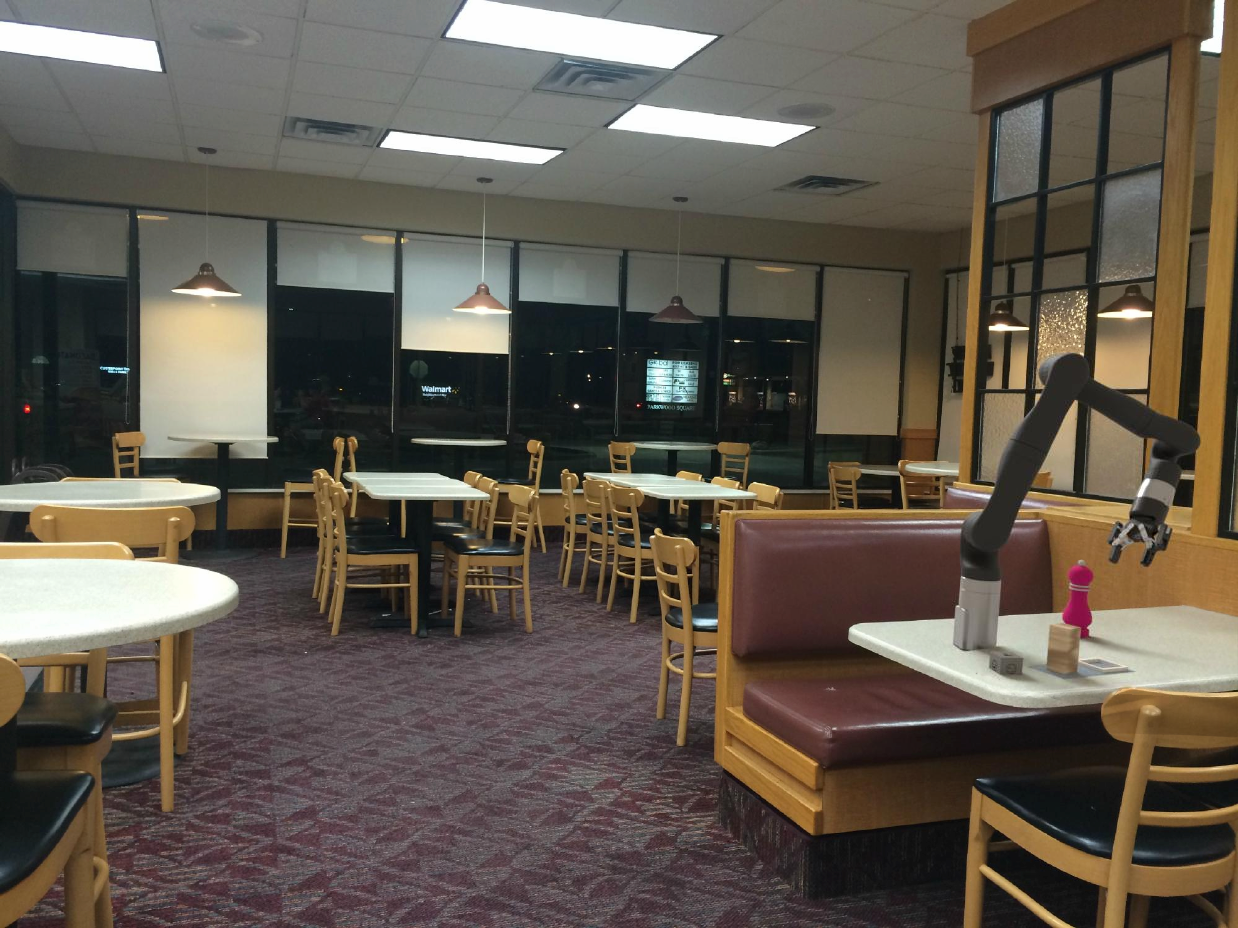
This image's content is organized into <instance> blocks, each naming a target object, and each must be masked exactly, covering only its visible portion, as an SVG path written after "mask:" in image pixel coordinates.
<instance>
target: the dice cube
mask: <svg viewBox="0 0 1238 928" xmlns="http://www.w3.org/2000/svg"><path fill="white" fill-rule="evenodd" d="M988 660H989V662H988V668H989V670H991V671H993V672H994V673H996V674H999V675H1001V676H1004V675H1005V676H1006V675H1007V676H1009V675H1011V676H1023V666H1024V657H1022V656H1020V655H1018V654H1017V653H1015V652H1013V651H992V650H991V651H990V652H989V659H988Z"/></svg>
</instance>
